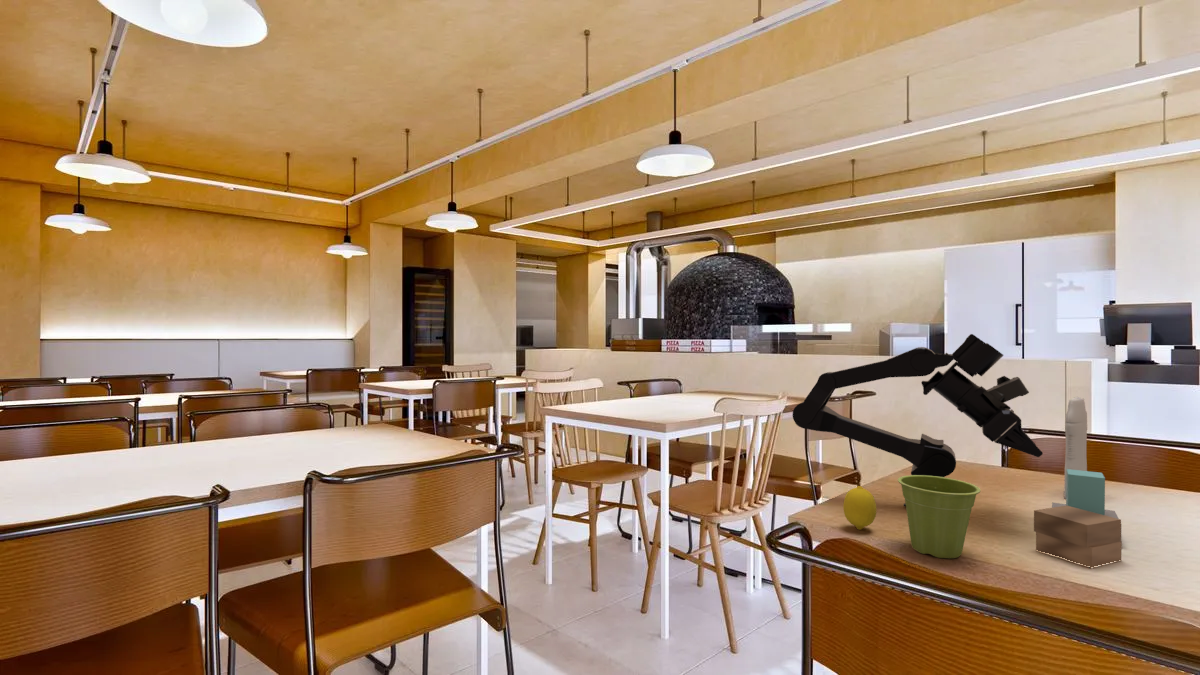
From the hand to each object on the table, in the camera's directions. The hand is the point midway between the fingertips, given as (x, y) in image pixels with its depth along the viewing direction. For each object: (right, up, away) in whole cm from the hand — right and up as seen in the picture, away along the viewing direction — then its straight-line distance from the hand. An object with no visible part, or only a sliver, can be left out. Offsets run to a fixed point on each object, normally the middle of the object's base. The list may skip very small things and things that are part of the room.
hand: (1037, 450), depth 111 cm
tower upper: (-5, -11, -15) cm, 19 cm away
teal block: (+5, -10, -5) cm, 12 cm away
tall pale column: (+23, -14, +20) cm, 33 cm away
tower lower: (-5, -14, -15) cm, 21 cm away
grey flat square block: (+5, -14, -5) cm, 16 cm away
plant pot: (-26, -14, -13) cm, 33 cm away
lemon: (-35, -14, -3) cm, 37 cm away
